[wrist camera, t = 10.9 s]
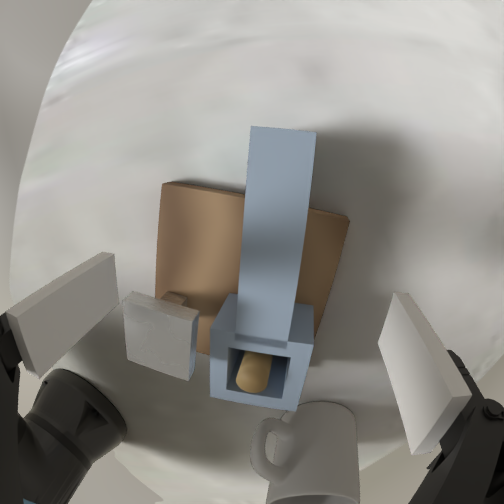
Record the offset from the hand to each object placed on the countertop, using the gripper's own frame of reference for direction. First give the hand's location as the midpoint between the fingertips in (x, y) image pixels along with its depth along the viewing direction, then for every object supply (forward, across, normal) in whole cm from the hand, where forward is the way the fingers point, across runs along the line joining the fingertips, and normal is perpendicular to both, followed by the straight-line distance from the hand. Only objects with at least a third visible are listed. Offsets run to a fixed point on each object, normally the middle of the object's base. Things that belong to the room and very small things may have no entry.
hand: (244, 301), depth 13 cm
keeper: (+9, -5, -4) cm, 11 cm away
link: (+8, +1, -1) cm, 9 cm away
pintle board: (+10, -2, -4) cm, 11 cm away
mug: (+10, +6, -19) cm, 23 cm away
